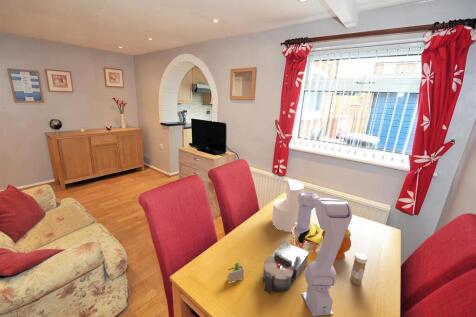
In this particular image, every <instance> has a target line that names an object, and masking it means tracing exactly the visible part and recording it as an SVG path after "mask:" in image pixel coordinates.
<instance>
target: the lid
mask: <svg viewBox="0 0 476 317" xmlns="http://www.w3.org/2000/svg"><path fill="white" fill-rule="evenodd" d="M270 256H271V255H270ZM270 256H269V257H268V258H266V259H265V260H264V262H263V270H264V269H265V271H266V273H267V272H268V271H269V272H271V273H273V274H275V277H274V279H278V280H286V279H289V278H290V277H291V276H292V275H293V271H294V269H293V265H292V261H291V260H289V259H287V258H285V257H283V256H282V255H280V254H278V253H275V255H274V256H271V257H270Z"/></svg>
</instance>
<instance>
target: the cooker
mask: <svg viewBox="0 0 476 317" xmlns="http://www.w3.org/2000/svg"><path fill="white" fill-rule="evenodd" d="M275 253H278V254H280V255H282V256H283V257H285V258H287V259H289V260H291V261H292V265H293V269H294V271H293V275H292V276H291V277H290V278H289V279H286V280H278V279H274V277H275V274H273V273H271V272H269V271H268V272H267V273H266V271H265V269H264V268H263V273H262V274H263V275H262V281H263V284H264V283H265V284H264V287H263V288H264V290H263V291H264V292H265V291H266V292H265V293H267V294H269V295H270V296H271V295H272V294H273V292H274V293H279V294H280V293H282V294H283V293H285V292H287V291H289V290H290V288H291V286H292V285H291V284H292V280H293V281H294V282H297V279H298V278H299V276H300V275H301V273H302V272H303V270H305V268H306V266H307V264H308V259H309V252H308V251H306V250H303V249H301V248H299V247H297V246H295V245H293V244H290V243H289V242H286V241H283V242H282V243H281V244H280V245H279V246H278V247H277V248H276V249H275V250H274V252H272V253H271V255H270V256H269V257H271V256H274V255H275Z"/></svg>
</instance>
